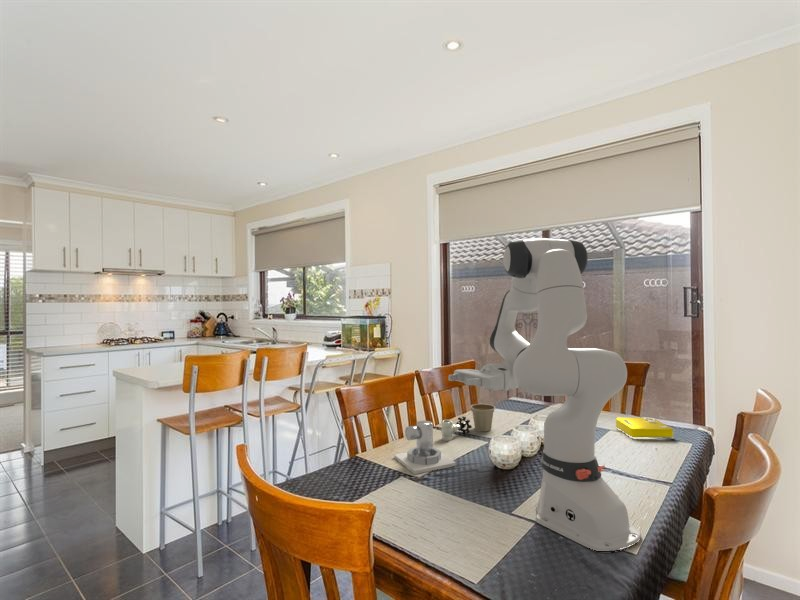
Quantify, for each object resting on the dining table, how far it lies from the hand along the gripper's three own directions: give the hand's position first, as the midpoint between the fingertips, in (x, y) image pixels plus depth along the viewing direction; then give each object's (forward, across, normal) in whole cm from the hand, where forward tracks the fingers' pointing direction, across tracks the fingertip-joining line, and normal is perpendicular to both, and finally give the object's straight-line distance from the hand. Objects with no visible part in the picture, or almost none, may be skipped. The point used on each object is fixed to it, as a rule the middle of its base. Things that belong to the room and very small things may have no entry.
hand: (457, 380), depth 139 cm
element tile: (-75, +10, +24) cm, 80 cm away
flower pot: (-24, -20, +24) cm, 39 cm away
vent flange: (+12, -1, +24) cm, 27 cm away
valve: (-10, -17, +24) cm, 31 cm away
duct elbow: (+13, -1, +24) cm, 27 cm away
